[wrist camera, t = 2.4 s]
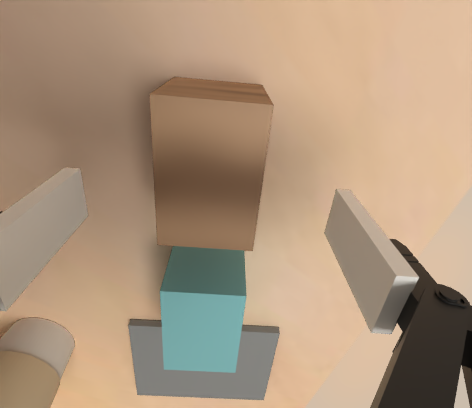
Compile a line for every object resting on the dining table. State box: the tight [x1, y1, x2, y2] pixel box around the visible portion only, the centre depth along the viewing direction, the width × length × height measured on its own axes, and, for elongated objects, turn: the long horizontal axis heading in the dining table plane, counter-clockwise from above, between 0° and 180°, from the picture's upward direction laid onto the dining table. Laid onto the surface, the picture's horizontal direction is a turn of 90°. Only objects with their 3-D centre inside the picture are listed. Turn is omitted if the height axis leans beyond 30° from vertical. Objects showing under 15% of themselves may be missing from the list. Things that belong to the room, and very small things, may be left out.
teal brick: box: [160, 246, 246, 373], centre depth 26 cm, size 9×6×7 cm, turn 175°
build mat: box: [128, 319, 280, 400], centre depth 35 cm, size 13×16×1 cm
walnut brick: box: [150, 77, 274, 251], centre depth 20 cm, size 9×6×7 cm, turn 175°
